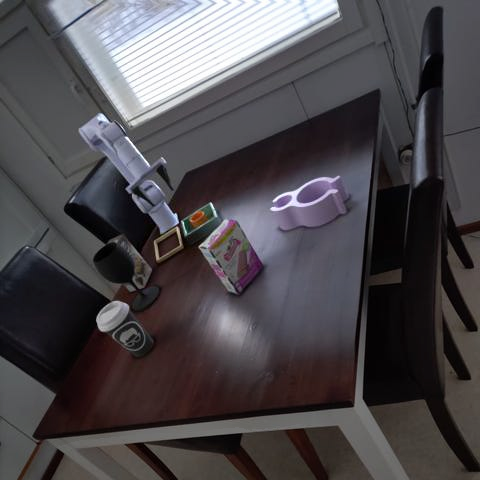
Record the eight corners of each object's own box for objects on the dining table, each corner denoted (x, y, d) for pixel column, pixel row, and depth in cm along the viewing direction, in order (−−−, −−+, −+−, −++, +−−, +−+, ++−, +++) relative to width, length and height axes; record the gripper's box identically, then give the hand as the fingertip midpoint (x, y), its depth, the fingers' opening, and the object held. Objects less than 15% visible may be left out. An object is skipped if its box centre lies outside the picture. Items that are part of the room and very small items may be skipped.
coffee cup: (163, 332, 125) (129, 295, 116) (149, 360, 120) (113, 324, 110) (138, 335, 130) (104, 301, 121) (124, 362, 125) (87, 328, 116)
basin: (186, 230, 162) (180, 221, 159) (216, 211, 160) (210, 202, 157) (191, 246, 152) (184, 236, 149) (223, 226, 150) (217, 216, 147)
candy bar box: (240, 295, 119) (208, 249, 109) (228, 292, 123) (196, 247, 113) (265, 266, 122) (237, 219, 112) (253, 263, 126) (224, 217, 116)
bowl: (196, 227, 158) (189, 217, 155) (208, 219, 157) (202, 209, 154) (198, 234, 154) (190, 224, 151) (211, 226, 153) (204, 215, 150)
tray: (156, 244, 166) (153, 241, 165) (179, 229, 164) (177, 226, 163) (159, 264, 154) (156, 261, 153) (184, 249, 153) (181, 245, 152)
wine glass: (136, 316, 138) (93, 269, 126) (129, 302, 146) (87, 257, 134) (163, 294, 139) (122, 246, 127) (154, 282, 147) (115, 235, 135)
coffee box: (145, 287, 148) (113, 251, 138) (130, 292, 151) (98, 257, 141) (153, 269, 154) (123, 233, 144) (138, 274, 157) (108, 239, 147)
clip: (277, 237, 129) (267, 218, 125) (285, 211, 137) (275, 192, 133) (345, 218, 119) (336, 197, 115) (349, 191, 127) (341, 170, 123)
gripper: (112, 176, 133) (143, 214, 136) (149, 144, 130) (180, 183, 133) (119, 176, 140) (148, 212, 143) (154, 145, 137) (183, 182, 140)
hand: (163, 198), depth 139 cm, fingers open, 7 cm apart
